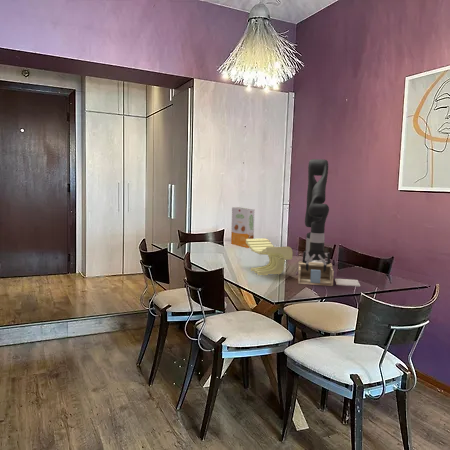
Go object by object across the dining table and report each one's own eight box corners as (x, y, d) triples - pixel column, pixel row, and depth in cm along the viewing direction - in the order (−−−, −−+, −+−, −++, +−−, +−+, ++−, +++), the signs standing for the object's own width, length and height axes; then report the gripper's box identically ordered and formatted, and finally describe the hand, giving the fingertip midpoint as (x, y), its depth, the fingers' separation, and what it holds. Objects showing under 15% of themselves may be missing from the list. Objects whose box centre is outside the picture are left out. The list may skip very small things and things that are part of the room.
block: (310, 280, 229) (310, 269, 228) (319, 280, 228) (320, 269, 227) (310, 282, 224) (311, 271, 223) (320, 283, 223) (320, 272, 222)
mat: (334, 279, 234) (334, 278, 234) (357, 280, 232) (357, 279, 232) (336, 285, 222) (336, 283, 222) (360, 286, 220) (360, 285, 220)
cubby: (298, 275, 241) (298, 261, 240) (330, 277, 238) (331, 263, 237) (298, 283, 223) (298, 268, 222) (333, 286, 220) (333, 270, 219)
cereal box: (253, 247, 332) (254, 209, 328) (246, 248, 329) (247, 209, 325) (237, 243, 351) (238, 207, 347) (231, 243, 348) (232, 207, 344)
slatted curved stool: (291, 277, 237) (292, 246, 235) (265, 279, 232) (266, 247, 229) (268, 266, 265) (269, 238, 263) (245, 267, 260) (245, 238, 258)
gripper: (330, 240, 226) (328, 270, 228) (303, 239, 228) (302, 269, 230) (331, 242, 218) (329, 273, 220) (303, 241, 221) (302, 272, 223)
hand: (315, 271), depth 225 cm, fingers open, 8 cm apart
